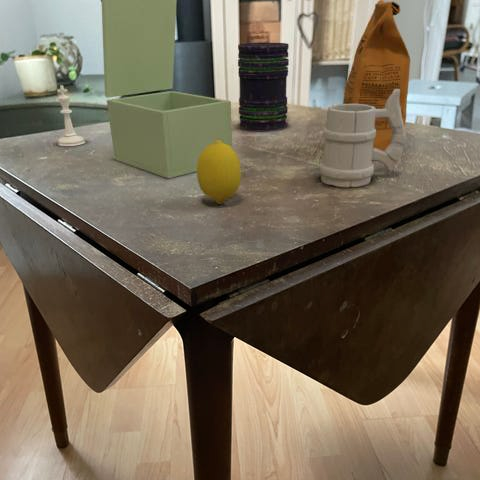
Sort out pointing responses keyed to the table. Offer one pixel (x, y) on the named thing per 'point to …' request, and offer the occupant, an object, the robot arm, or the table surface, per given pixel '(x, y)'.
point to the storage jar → (263, 86)
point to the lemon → (219, 171)
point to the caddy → (167, 130)
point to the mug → (359, 142)
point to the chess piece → (68, 122)
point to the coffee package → (380, 69)
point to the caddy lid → (138, 45)
